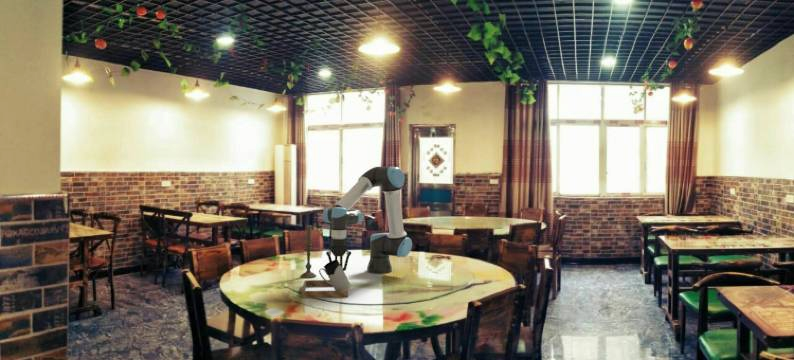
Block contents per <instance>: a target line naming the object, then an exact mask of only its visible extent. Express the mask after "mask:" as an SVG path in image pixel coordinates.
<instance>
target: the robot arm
mask: <svg viewBox="0 0 794 360" xmlns="http://www.w3.org/2000/svg"><path fill="white" fill-rule="evenodd" d="M405 181H406V178H405V174H404V171H403V170H402V169H401V168H400V167H398V166H374V167H372V168H369V169H368V170H367V171H365V172H364V173H362V174H361V175H360V177H358V179H357V182H356V183H355V184H354V185H353V186H352V187H351V188H350V189H348V191H347V192H346V193H345V194H344V195H343V196H342V197H341V198H340V199H339V200H338V201H337V202H336V203H335V204H334V205H333V206H332V207H331V208H325V209H324V210H323V212H322V219H323V221H324V222H326V223H329V224H331V244H330V249H329V250H328V251H326V252H325V255H326V256H327V258H328V261H329V262H331V261H333V260H332V257H331V255H333V256H334V260H338V257H339V264H340V265H341V267H342V269H343V271H344V272H345V271H346V270H347V266H348V263H349V258H350V256H351V255H352V251H351V250H348V247H347V226H352V225H358V224H361V223H362V221H363V220H364V215H363V213H362V211H361V210H360V209H352V208H353V206H355V204H356V203H358V201H359V200H360V199H362V197H363V196H364V195H365V194H366V192H367V191H368V192H370V191H371V190H372V189H373V188H376V187H378V188H379V187H380V188H381V192H382V193H384V199H385V208H386V214H387V223H388V224H387V225H388V230H389V231H388V232H382V233H380V232H379V233H373V234H371V235H370V241H369V244H370V245H369V247H370V248H369V253H370V254H369V255H370V256H369V261H368V264H367V266H366V267H367V268H366V271H367V272H368V273H370V274H388V273H392V271H393V266H392V264H391V260H390V256H392V257H398V258H406V257H407V256H409V255H410V253H411V251H412V247H413V242H412V239H411V238H410V237H408V233H407V232H406V231H405V229H404V222H403V221H404V220H403V214H402V213H403V212H402V203H401V194H400V192H401V190H402V187H403V186H404V184H405ZM351 209H352V210H351ZM345 254H346V257H345V261H344V265H343V257H344V255H345ZM329 262H328V263H329Z"/></svg>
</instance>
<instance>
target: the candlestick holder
mask: <svg viewBox="0 0 794 360" xmlns="http://www.w3.org/2000/svg"><path fill="white" fill-rule="evenodd" d="M311 227H312V225H306V243H305V250H306V261H307V263H306V264H304V266H305V269H306V271H305V272H302V274H300V275H299V277H300V278H302V279H315V278H317V274H315V272H313V271H311V269H312V264H311V250H312V246H313V244H312V242H311V241H312V240H311V239H312V234H311V233H312V232H311V231H312V229H311Z"/></svg>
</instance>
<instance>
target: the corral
mask: <svg viewBox="0 0 794 360" xmlns="http://www.w3.org/2000/svg"><path fill="white" fill-rule="evenodd" d="M326 280H327V281H328V282H330V283H331V281H330V279H326ZM307 287H333V285H331V284H329V283H327V282H326V281H325V280H324V279H321V280H319V279H315V280H313V279H310V280H309V279H306V280H304V281H303V284H302V287H301V290H300V299H309V298H310V299H313V298H314V299H317V298H318V299H319V298H324V299H325V298H349V290H346V291H335V290H306V289H307Z"/></svg>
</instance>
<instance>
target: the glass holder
mask: <svg viewBox="0 0 794 360" xmlns="http://www.w3.org/2000/svg"><path fill="white" fill-rule="evenodd" d="M342 268H343V266H342V267H341V265H340V261H339V259H337V260H335V259H334V260H332V261H331V262H327V263H326V264H325V265H324V266H323V267H321V268H320V269H319V270H318V274H319V275H320V277H321V278H322V280H325V281H326V282H327V283H329V284H331V285H333V286H332V287H333V289H334V291H346V290H348V291H350V290H351V288H353V285H352V284H351V283H350V281H349V279H348V277H347V275H346V273H345V271H343V269H342ZM321 270H323V272H324V273H325V275H327V277H328V278H329V279H326V278H325V277H324V276H323V274H322V272H321ZM327 280H330V281H331V283H330V282H328V281H327Z"/></svg>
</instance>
